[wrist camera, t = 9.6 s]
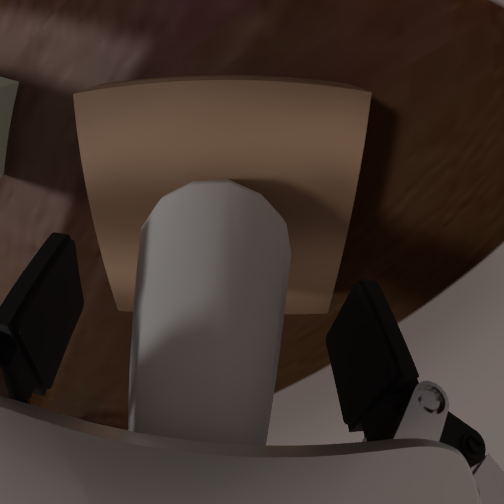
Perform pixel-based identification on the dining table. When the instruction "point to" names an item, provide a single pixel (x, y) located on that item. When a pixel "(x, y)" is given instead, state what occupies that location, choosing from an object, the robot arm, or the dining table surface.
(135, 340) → the salt shaker
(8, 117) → the sage cube
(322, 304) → the light wood flat block
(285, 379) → the dining table surface
